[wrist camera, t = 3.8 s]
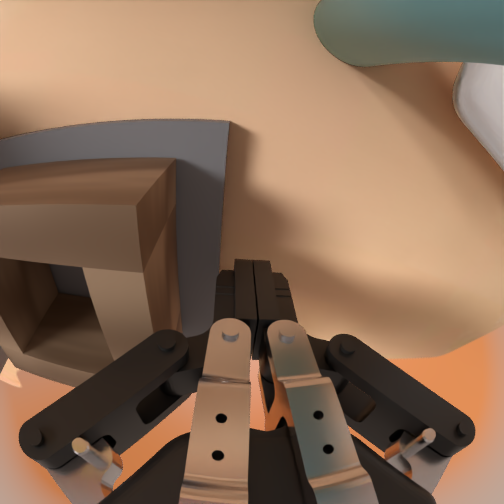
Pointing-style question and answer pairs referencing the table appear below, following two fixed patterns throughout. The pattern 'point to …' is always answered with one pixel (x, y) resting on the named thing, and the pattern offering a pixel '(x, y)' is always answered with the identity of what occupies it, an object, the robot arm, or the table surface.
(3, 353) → the backstop wall
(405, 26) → the teal rounded bar piece
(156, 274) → the block
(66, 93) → the table surface
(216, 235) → the rail plate
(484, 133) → the salad plate
